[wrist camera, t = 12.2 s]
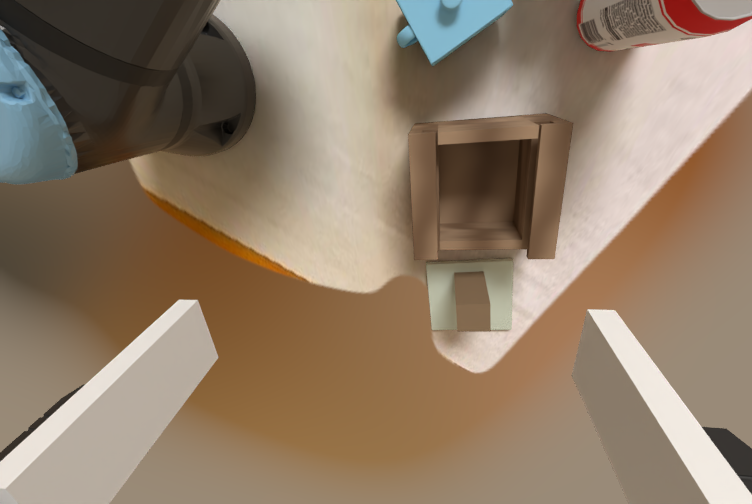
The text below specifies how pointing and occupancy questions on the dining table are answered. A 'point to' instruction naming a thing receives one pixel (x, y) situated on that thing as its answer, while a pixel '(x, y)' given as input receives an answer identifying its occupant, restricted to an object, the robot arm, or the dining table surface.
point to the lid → (470, 294)
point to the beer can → (656, 21)
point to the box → (488, 184)
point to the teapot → (446, 23)
